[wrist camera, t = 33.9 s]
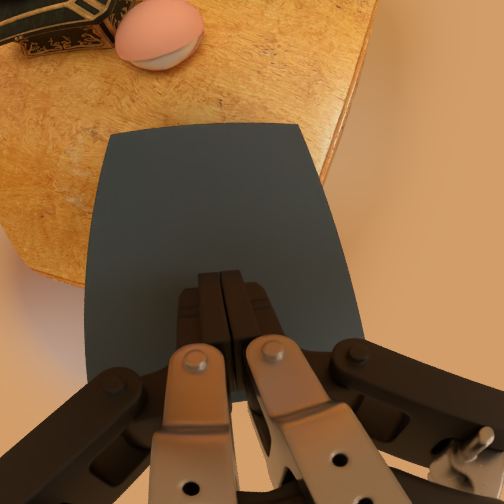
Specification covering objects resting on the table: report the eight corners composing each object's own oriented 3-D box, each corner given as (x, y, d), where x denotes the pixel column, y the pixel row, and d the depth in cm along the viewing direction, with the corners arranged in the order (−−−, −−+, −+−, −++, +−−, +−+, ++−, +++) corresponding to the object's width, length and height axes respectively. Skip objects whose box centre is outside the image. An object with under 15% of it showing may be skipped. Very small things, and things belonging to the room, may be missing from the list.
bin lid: (362, 371, 11) (371, 371, 10) (97, 404, 9) (90, 406, 8) (295, 133, 16) (298, 124, 16) (113, 143, 14) (110, 134, 14)
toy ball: (133, 90, 21) (111, 75, 14) (120, 31, 18) (98, 2, 11) (210, 66, 22) (216, 43, 15) (194, 8, 19) (196, -28, 12)
